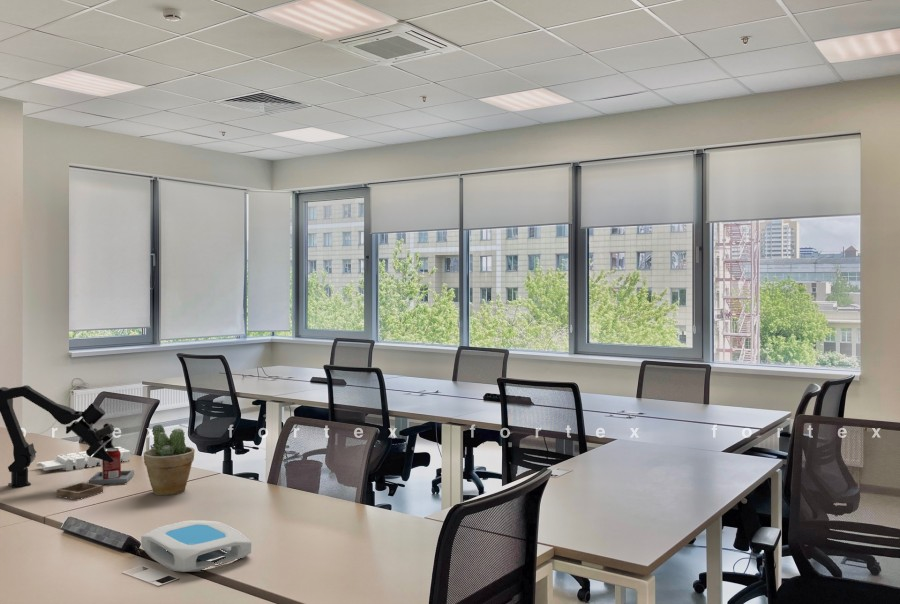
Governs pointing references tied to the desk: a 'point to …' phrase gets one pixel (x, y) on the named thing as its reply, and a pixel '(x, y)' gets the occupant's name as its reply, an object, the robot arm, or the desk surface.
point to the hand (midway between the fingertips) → (115, 458)
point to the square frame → (88, 491)
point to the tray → (123, 479)
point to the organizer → (78, 460)
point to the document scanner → (194, 544)
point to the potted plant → (168, 461)
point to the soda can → (112, 465)
